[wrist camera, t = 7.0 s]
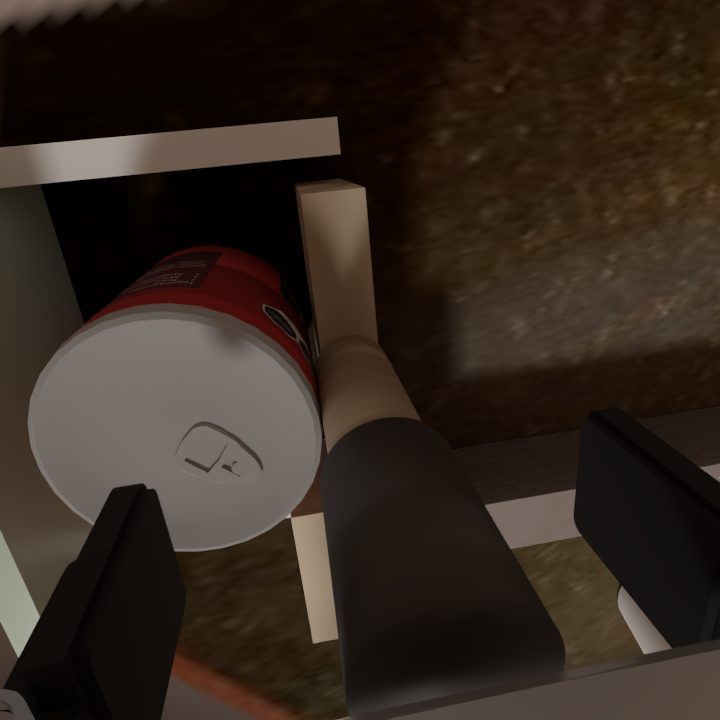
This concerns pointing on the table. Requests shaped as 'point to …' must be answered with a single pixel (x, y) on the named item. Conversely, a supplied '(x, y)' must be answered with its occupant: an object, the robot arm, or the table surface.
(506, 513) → the rail
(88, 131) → the table surface
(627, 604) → the cup
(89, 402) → the canned food
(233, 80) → the table surface
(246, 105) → the table surface
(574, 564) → the table surface
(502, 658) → the kicker figure
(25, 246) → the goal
